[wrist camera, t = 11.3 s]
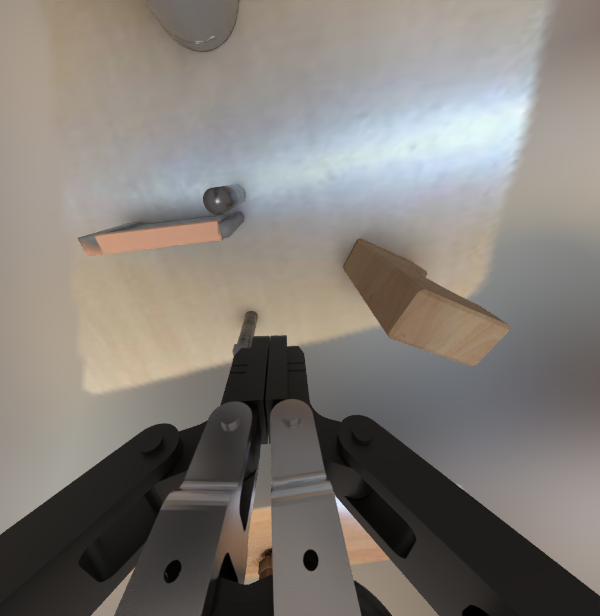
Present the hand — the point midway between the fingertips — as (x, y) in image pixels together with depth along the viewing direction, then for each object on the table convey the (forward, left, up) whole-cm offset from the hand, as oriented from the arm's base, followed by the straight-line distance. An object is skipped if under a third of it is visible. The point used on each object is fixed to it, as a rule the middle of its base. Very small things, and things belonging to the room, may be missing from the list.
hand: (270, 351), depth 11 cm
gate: (-1, -13, -28) cm, 31 cm away
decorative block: (+6, +16, -29) cm, 34 cm away
